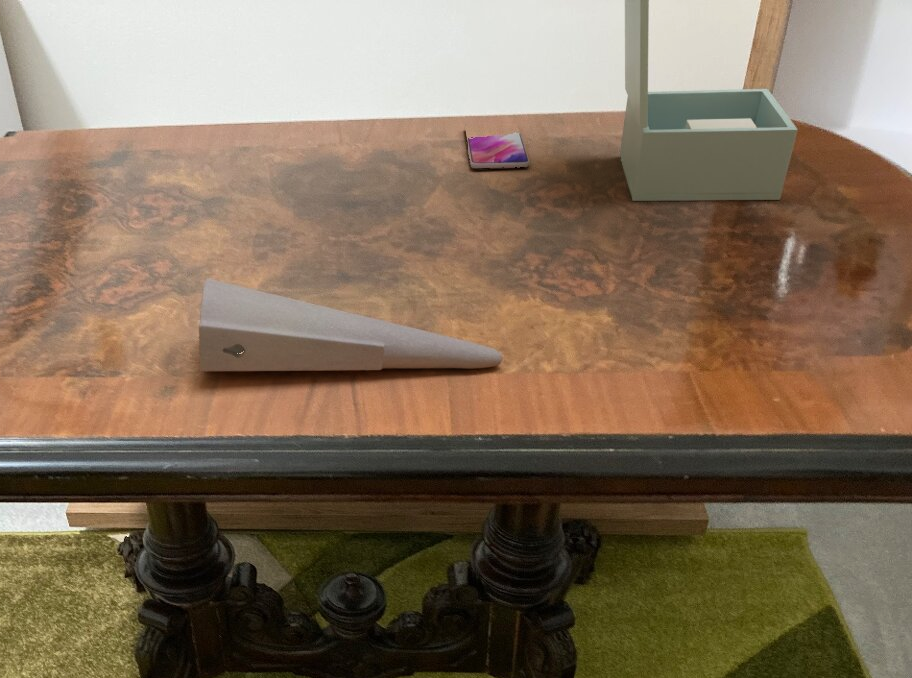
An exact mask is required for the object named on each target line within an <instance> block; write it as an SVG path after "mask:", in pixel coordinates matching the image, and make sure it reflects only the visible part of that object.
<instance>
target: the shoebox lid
mask: <svg viewBox="0 0 912 678" xmlns="http://www.w3.org/2000/svg"><path fill="white" fill-rule="evenodd" d="M649 2H650V0H624V89H625V92H626V95H627V98H628V97H629V100H630V103H631V105H632V108H633V111H634V114H635V116H636V119H637V122H638V124H639V127H640V128H647V127H648V92H649V27H650V26H649V25H650V24H649V21H650V17H649V15H650V14H649V13H650V12H649V11H650V10H649V9H650V5H649V4H650V3H649Z"/></svg>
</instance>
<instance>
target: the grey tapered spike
mask: <svg viewBox="0 0 912 678" xmlns="http://www.w3.org/2000/svg"><path fill="white" fill-rule="evenodd" d="M198 346H199V347H198V349H199V350H198V351H199V352H198V353H199V370H200V371H201V372H290V371H291V372H293V371H294V372H297V371H299V372H301V371H302V372H303V371H305V372H307V371H309V372H310V371H311V372H312V371H319V372H320V371H382V369H468V370H470V369H486V368H492V367H496V366H499V365H501V363H502V361H503V355H502V353H501V352H500V351H499V350H497V349H496V348H493V347H489V346H486V345H483V344H479V343H477V342H476V343H475V342H471V341H468V340H464V339H460V338H457V337H452V336H448V335H444V334H440V333H435V332H432V331H428V330H423V329H419V328H415V327H411V326H407V325H402V324H398V323H396V322H395V323H394V322H390V321H386V320H382V319H377V318H374V317H369V316H366V315H361V314H357V313H352V312H349V311H344V310H340V309H336V308H332V307H329V306H324V305H319V304H315V303H311V302H307V301H303V300H298V299H294V298H292V297H291V298H290V297H286V296H282V295H278V294H273V293H269V292H265V291H262V290H258V289H254V288H250V287H246V286H242V285H239V284H233V283H229V282H225V281H221V280H217V279H212V278H209V277H208V278H206V279H205V280H204V284H203V288H202V295H201V303H200V314H199V325H198ZM243 351H244V352H243ZM241 352H243V353H242V354H239V353H241ZM237 353H238V354H237Z"/></svg>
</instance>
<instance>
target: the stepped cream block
mask: <svg viewBox="0 0 912 678" xmlns="http://www.w3.org/2000/svg"><path fill="white" fill-rule="evenodd" d="M720 128H757V126H756V125H755V124H754V123H753V121H752V120H751V118H747V119H700V120H687V121H686V126H685V129H720Z"/></svg>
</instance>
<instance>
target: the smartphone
mask: <svg viewBox="0 0 912 678" xmlns="http://www.w3.org/2000/svg"><path fill="white" fill-rule="evenodd" d="M495 135H496V134H495ZM471 138H473V137H471ZM467 155H469V156H468V159H470V160H469V165H471V166H470V167H471V168H472V167H473V168H490V169H521V168H520V167H525V168H527V167H529V166H530V160H529V156H528V153H527V150H526V146H525V143H524V139H523V136H522V133H521V134H519V133H516V132H515V133H513V134H508V135H506V136H505V135H502V136H501V135H497V136H494V135H493V136H487V137H475V138H473V139H469V138H468V150H467ZM502 167H504V168H502ZM515 167H517V168H515ZM473 168H472V169H473Z"/></svg>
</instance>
